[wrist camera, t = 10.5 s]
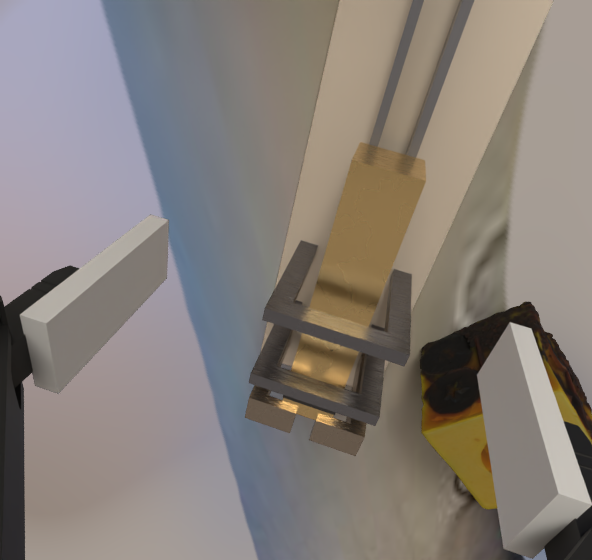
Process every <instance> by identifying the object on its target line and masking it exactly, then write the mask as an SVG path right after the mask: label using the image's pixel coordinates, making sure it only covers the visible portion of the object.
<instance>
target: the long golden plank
mask: <svg viewBox="0 0 592 560" xmlns="http://www.w3.org/2000/svg"><path fill="white" fill-rule="evenodd" d="M425 183H426V168H425V160H422V159H419V158H415V157H412V156H408V155H405V154H401V153H398V152H394V151H391V150H387V149H384V148H380V147H377V146H373V145H369V144H366V143H362V142H360V143H359V146H358V148H357V150H356V152H355V154H354V156H353V158H352V161H351V164H350V168H349V171H348V175H347V178H346V182H345V185H344V189H343V192H342V195H341V199H340V202H339V206H338V209H337V213H336V216H335V220H334V223H333V227H332V230H331V234H330V237H329V241H328V244H327V248H326V251H325V255H324V258H323V262H322V265H321V269H320V272H319V276H318V279H317V282H316V286H315V289H314V293H313V296H312V300H311V303H310V307H309V308H312V309H315V310H318V311H321V312H324V313H327V314H330V315H334V316H337V317H340V318H343V319H346V320H349V321H352V322H355V323H358V324H362V325H365V326H368V327H369V325H370V322H371V319H372V317H373V314H374V312H375V309H376V307H377V304H378V302H379V299H380V297H381V294H382V292H383V289H384V287H385V284H386V281H387V279H388V276H389V274H390V271H391V269H392V266H393V264H394V261H395V259H396V256H397V254H398V251H399V249H400V246H401V244H402V241H403V238H404V236H405V233H406V231H407V228H408V226H409V223H410V221H411V218H412V216H413V213H414V211H415V208H416V206H417V203H418V200H419V198H420V195H421V193H422V190H423V188H424V185H425ZM358 352H359V351H356V350H353V349H350V348H346V347H343V346H340V345H337V344H334V343H331V342H328V341H325V340H322V339H319V338H316V337H313V336H310V335H307V334H304V333H302V335H301V338H300V342H299V345H298V349H297V352H296V356H295V359H294V362H293V366H292V369H291V371H293V372H296V373H299V374H302V375H305V376H308V377H311V378H314V379H317V380H320V381H323V382H326V383H329V384H332V385H335V386H338V387H340V388H343V389H344V388H345V385H346V383H347V380H348V378H349V375H350V373H351V370H352V368H353V365H354V362H355V360H356V357H357V355H358ZM283 401H286V402H289V403H291V404H294V405H297V406H298V409H297V413H296V414H299V415H301V416H304V417H307V418H310V419H313V420H316V417H317V415H318V413H321V414H324V415H326V416H329V417H332V418H333V416H334V415H335V412H333V411H330V410H327V409H324V408H321V407H318V406H315V405H312V404H309V403H306V402H303V401H300V400H297V399H295V398H292V397H289V396H286V395H283Z"/></svg>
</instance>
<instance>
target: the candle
mask: <svg viewBox="0 0 592 560" xmlns="http://www.w3.org/2000/svg"><path fill="white" fill-rule="evenodd" d="M510 322H511V323H514V324H518V325H521V326H524V327H528V328H531V329H532V332H533V335H534V338H535V340H536V343H537V346H538V349H539V352H540V355H541V358H542V361H543V364H544V366H545V369H546V372H547V375H548V378H549V381H550V384H551V387H552V390H553V393H554V395H555V398H556V401H557V404H558V407H559V410H560V413H561V416H562V419H563V421H565V422H569V423H572V424H575V425H578V426H579V427H580V429H581V430H582V431H583V432H584V434H585V435H586V436H587V438H588V439H589V440H590V442H591V444H592V410H591V407H590V405H589V403H587V398H586V396H585V393H584V392H583V390H582V387H581V385H580V382H579V379H578V378H577V377H576V375H575V374H574V372H573V370H572V368H571V367H570V365H569V361H568V360H566V356H565V355H564V354H563V352H562V351H561V350H560V348H559V345H558V344H557V342H556V340H555V339H553V338H552V337H553V335H552V334H550V333H547V332H545V331H544V330H543V328H542V326H541V324H540V318H539V314H538V312H537V311H536V310H535V307H534V306H533V305H532V304H531V302H524V303H523V304H521V305H520V306H516V307H513V308H510V309H508V310H507V311H505V312H501V313H496V314H494V315H493V316H491V317H489V318H486V319H484V320H481V321H478V322H476V323H474V324H472V325H471V326H469V327H464V328H463V329H461V330H459V331H456V332H454V333H453V334H451V335H449V336H447V337H445V338H443V339H440V340H438V341H435V342H430V343H428V344H427V345H425V346H424V347H423V348H422V357H421V359H420V368H421V369H422V370H421V372H420V374H421V383H422V401H423V404H424V405H423V408H422V434H423V435H424V437H425V438H426V439H427V441H428V442H429V443H430V444H431V445H432V447H433V448H434V449H435V450H436V451H437V452H438V454H439V455H440V456H441V457H442V458H443V459H444V460H445V461H446V463H447V464H448V465H449V466H450V467H451V468H452V470H453V471H454V472H455V473H456V474H457V476H458V477H459V478H460V480H461V481H462V482H463V484H464V485H465V487H466V488H467V489H468V490H469V491H470V493H471V494H472V495H473V496H474V498H475V499H476V500H477V501H478V503H479V504H480V505H481V506H482V508H485V509H494V508H497V502H496V495H495V489H494V482H493V476H492V469H491V463H490V456H489V450H488V443H487V437H486V430H485V424H484V417H483V411H482V404H481V398H480V391H479V385H478V378H477V374H478V373H479V371H480V369H481V368H482V366H483V365H484V363H485V361H486V360H487V358H488V357H489V355H490V353H491V352H492V350H493V348H494V347H495V345H496V344H497V342H498V340H499V339H500V337H501V336H502V334H503V332H504V331H505V329H506V328H507V326H508V324H509V323H510Z"/></svg>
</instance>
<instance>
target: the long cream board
mask: <svg viewBox="0 0 592 560" xmlns="http://www.w3.org/2000/svg"><path fill="white" fill-rule="evenodd" d="M553 1H554V0H340V1H339V5H338V10H337V14H336V19H335V23H334V28H333V32H332V36H331V41H330V45H329V50H328V54H327V59H326V63H325V68H324V72H323V77H322V81H321V85H320V90H319V94H318V99H317V103H316V108H315V112H314V117H313V121H312V125H311V130H310V134H309V139H308V143H307V148H306V152H305V157H304V161H303V166H302V170H301V174H300V179H299V183H298V188H297V192H296V197H295V201H294V206H293V210H292V215H291V219H290V223H289V228H288V232H287V237H286V241H285V246H284V250H283V255H282V259H281V264H280V268H279V272H278V277H277V281H276V286H277V284H278V282H279V281H280V279H281V277H282V275H283V273H284V271H285V269H286V267H287V265H288V264H289V262H290V260H291V258H292V256H293V254H294V252H295V250H296V249H297V247H298V245H299V243H300V241H301V240H302V241H305V242H309V243H312V244H315V245H318V248H317V251H316V255H315V257H314V260H313V262H312V264H311V267H310V269H309V271H308V274H307V276H306V278H305V280H304V283H303V285H302V287H301V290H300V292H299V294H298V297H297V299H296V300H298V301H301V302H302V306H306V307H310V303H311V300H312V296H313V293H314V289H315V286H316V282H317V279H318V276H319V272H320V269H321V265H322V262H323V258H324V255H325V251H326V248H327V244H328V241H329V237H330V234H331V230H332V227H333V223H334V220H335V216H336V213H337V209H338V206H339V202H340V199H341V195H342V192H343V189H344V185H345V182H346V178H347V175H348V171H349V168H350V164H351V161H352V158H353V156H354V154H355V152H356V150H357V148H358V146H359V143H360V142H362V143H366V144H369V145H373V146H377V147H380V148H384V149H387V150H391V151H394V152H398V153H401V154H405V155H408V156H412V157H415V158H419V159H422V160H425V168H426V183H425V185H424V188H423V190H422V193H421V195H420V198H419V200H418V203H417V206H416V208H415V211H414V213H413V216H412V218H411V221H410V223H409V226H408V228H407V231H406V233H405V236H404V238H403V241H402V244H401V246H400V249H399V251H398V254H397V256H396V259H395V261H394V264H393V266H392V269H391V271H390V274H389V276H388V279H387V281H386V284H385V287H384V289H383V292H382V294H381V297H380V299H379V302H378V304H377V307H376V309H375V312H374V314H373V317H372V319H371V322H370V325H369V327H371V325H372V324H373V325H376V326H379V327H382V328H385V320H386V311H387V302H388V292H389V283H390V277H391V275H392V272H393V270H394V269H396V270H400V271H403V272H406V273H409V274H412V287H411V312H412V310H413V308H414V306H415V304H416V301H417V299H418V297H419V295H420V293H421V291H422V288H423V286H424V284H425V282H426V280H427V277H428V275H429V273H430V271H431V269H432V266H433V264H434V262H435V260H436V258H437V255H438V253H439V251H440V249H441V247H442V244H443V242H444V240H445V238H446V236H447V234H448V231H449V229H450V227H451V225H452V223H453V220H454V218H455V216H456V214H457V212H458V209H459V207H460V205H461V203H462V201H463V198H464V196H465V194H466V192H467V190H468V188H469V185H470V183H471V181H472V179H473V177H474V174H475V172H476V170H477V168H478V166H479V163H480V161H481V159H482V157H483V155H484V152H485V150H486V148H487V146H488V144H489V141H490V139H491V137H492V135H493V133H494V131H495V128H496V126H497V124H498V122H499V120H500V117H501V115H502V113H503V111H504V109H505V106H506V104H507V102H508V100H509V98H510V95H511V93H512V91H513V89H514V87H515V85H516V82H517V80H518V78H519V76H520V74H521V71H522V69H523V67H524V65H525V63H526V60H527V58H528V56H529V54H530V52H531V49H532V47H533V45H534V43H535V41H536V39H537V36H538V34H539V32H540V30H541V28H542V25H543V23H544V21H545V19H546V17H547V14H548V12H549V10H550V8H551V6H552V3H553ZM276 286H275V288H276ZM273 325H274V324H273V323H270V322H267V326H266V330H265V335H264V339H263V344H262V348H261V351H262V349H263V347H264V344H265V342H266V340H267V338H268V336H269V334H270V332H271V330H272V327H273ZM301 335H302V333H301V332H298V331H295V330H293V333H292V337H291V340H290V344H289V348H288V350H287V353H286V355H285V358H284V360H283V364H286V365H289V366H293V362H294V359H295V356H296V352H297V349H298V345H299V342H300V338H301ZM361 354H362V352H358V355H357V357H356V360H355V362H354V365H353V368H352V370H351V373H350V375H349V378H348V380H347V383H346V385H349V386H353V380H354V375H355V369H356V367H357V364H358V362H359V359H360V357H361ZM388 363H389V361H386V360H385V366H384V372H385V369H386V367H387V365H388Z"/></svg>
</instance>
